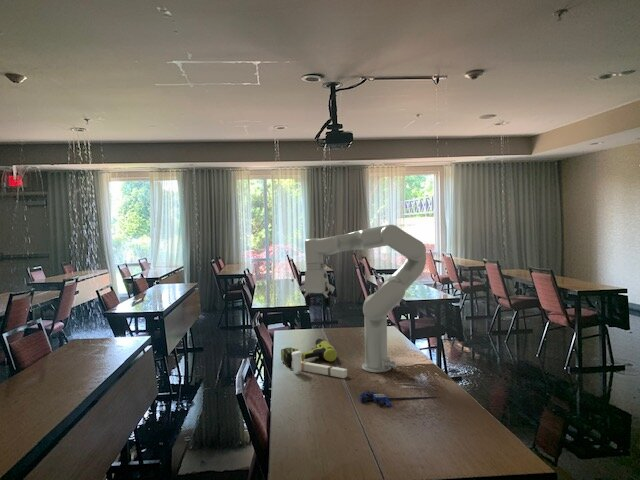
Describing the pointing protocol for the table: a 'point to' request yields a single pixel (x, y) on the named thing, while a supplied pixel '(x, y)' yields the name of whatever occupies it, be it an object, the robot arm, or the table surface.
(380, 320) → the robot arm
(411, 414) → the table surface
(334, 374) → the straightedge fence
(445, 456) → the table surface
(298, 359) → the milkshake
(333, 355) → the cordless drill
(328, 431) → the table surface
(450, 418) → the table surface
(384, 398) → the bar clamp
